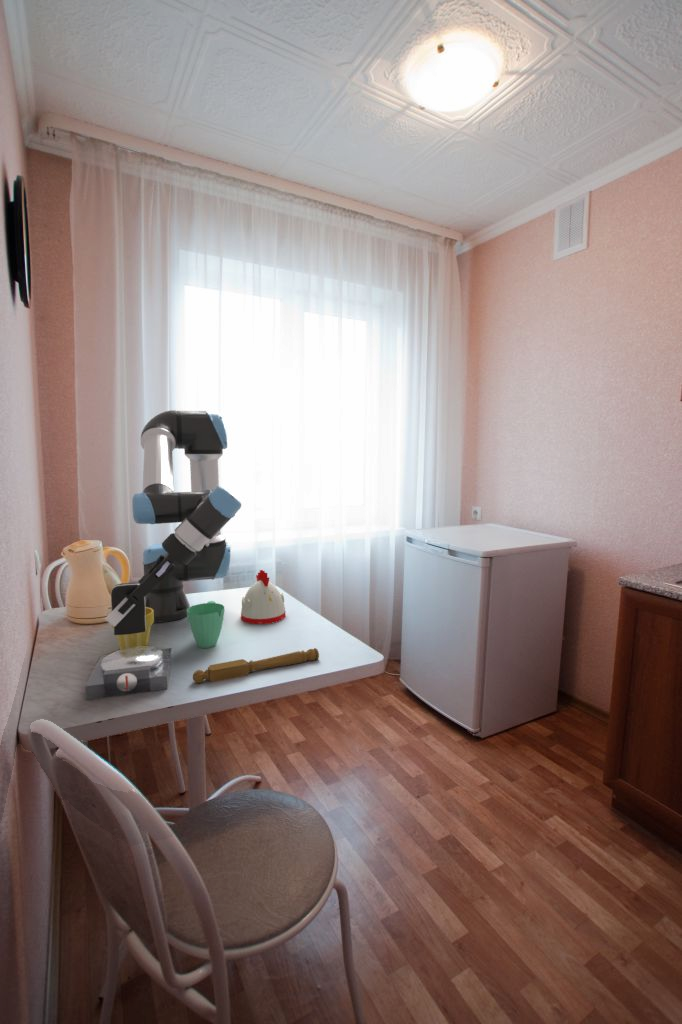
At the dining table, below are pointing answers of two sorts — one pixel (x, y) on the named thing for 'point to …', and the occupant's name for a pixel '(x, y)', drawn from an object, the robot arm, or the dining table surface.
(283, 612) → the kitchen timer
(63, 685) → the dining table surface
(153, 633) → the dining table surface
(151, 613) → the plant pot
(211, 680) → the turned wooden baluster
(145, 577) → the robot arm
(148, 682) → the scale
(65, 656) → the dining table surface
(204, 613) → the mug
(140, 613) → the battery charger
